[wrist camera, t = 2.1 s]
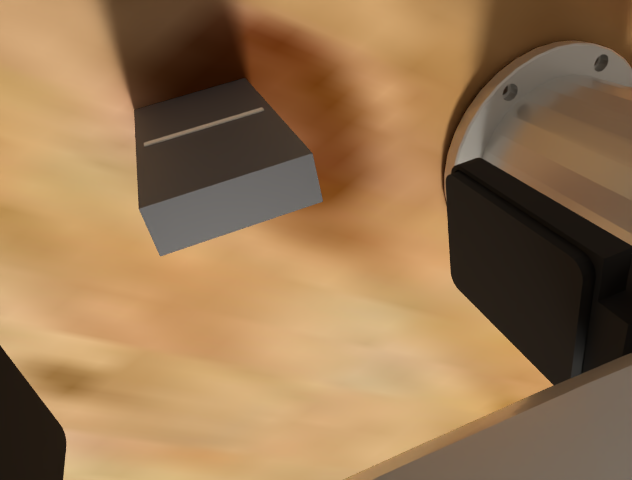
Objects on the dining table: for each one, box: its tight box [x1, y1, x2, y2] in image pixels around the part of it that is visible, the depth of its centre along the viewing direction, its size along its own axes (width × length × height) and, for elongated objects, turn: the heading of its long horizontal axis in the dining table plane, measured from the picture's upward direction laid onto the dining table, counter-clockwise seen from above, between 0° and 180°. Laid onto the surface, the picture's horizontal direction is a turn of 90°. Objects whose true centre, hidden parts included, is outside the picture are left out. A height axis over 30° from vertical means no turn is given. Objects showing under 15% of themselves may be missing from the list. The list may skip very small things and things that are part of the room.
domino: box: [134, 78, 323, 256], centre depth 19 cm, size 2×5×10 cm, turn 102°
